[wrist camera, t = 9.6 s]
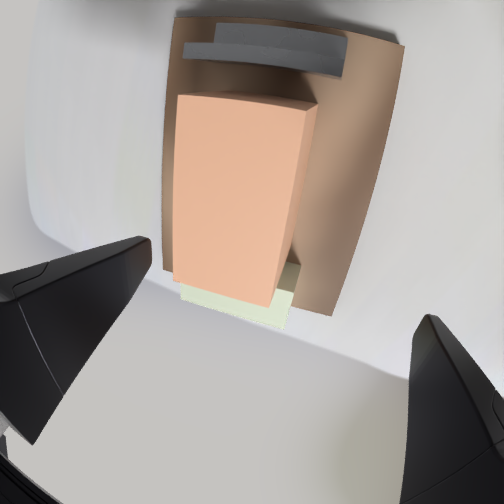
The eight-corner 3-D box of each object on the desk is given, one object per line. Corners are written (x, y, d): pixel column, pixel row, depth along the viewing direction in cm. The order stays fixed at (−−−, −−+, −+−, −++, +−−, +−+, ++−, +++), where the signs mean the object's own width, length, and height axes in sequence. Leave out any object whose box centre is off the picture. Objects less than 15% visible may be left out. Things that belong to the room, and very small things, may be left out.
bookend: (348, 39, 13) (349, 25, 10) (341, 80, 14) (341, 77, 11) (220, 24, 14) (188, 11, 11) (215, 62, 15) (182, 58, 12)
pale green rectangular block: (301, 265, 20) (293, 292, 18) (292, 300, 22) (283, 329, 19) (200, 239, 21) (180, 261, 19) (198, 274, 23) (180, 299, 21)
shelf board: (401, 48, 13) (404, 46, 12) (332, 307, 23) (331, 316, 22) (182, 20, 15) (174, 17, 14) (169, 262, 25) (163, 269, 24)
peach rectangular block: (318, 104, 15) (306, 111, 10) (290, 248, 20) (268, 308, 15) (229, 90, 16) (178, 94, 11) (215, 229, 21) (173, 280, 16)
